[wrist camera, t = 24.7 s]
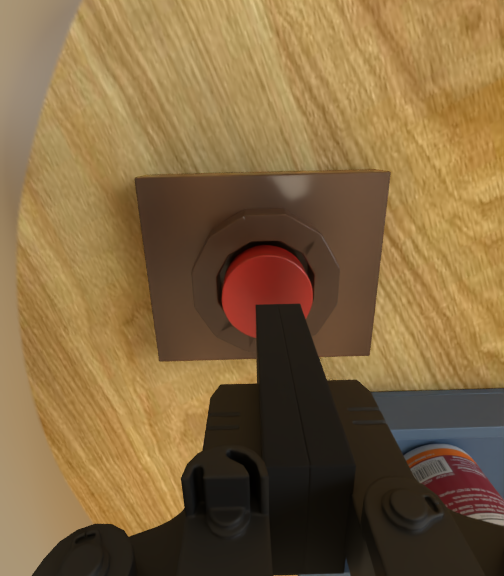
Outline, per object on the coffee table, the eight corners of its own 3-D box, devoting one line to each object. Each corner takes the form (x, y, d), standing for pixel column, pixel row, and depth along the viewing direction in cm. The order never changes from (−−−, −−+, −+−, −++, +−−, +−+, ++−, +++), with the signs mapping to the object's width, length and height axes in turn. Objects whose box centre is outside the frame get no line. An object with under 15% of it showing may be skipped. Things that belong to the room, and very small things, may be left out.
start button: (225, 323, 18) (223, 340, 16) (221, 245, 16) (218, 256, 15) (305, 321, 18) (311, 338, 16) (308, 243, 16) (315, 253, 15)
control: (166, 342, 22) (151, 381, 18) (146, 174, 18) (120, 180, 15) (358, 337, 22) (381, 374, 18) (375, 169, 19) (407, 173, 15)
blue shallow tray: (292, 532, 29) (298, 581, 25) (296, 393, 24) (304, 432, 20) (532, 524, 29) (569, 572, 26) (586, 385, 24) (640, 422, 21)
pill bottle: (446, 509, 27) (568, 726, 17) (373, 493, 26) (454, 710, 16) (488, 449, 25) (657, 656, 15) (410, 430, 24) (531, 634, 14)
